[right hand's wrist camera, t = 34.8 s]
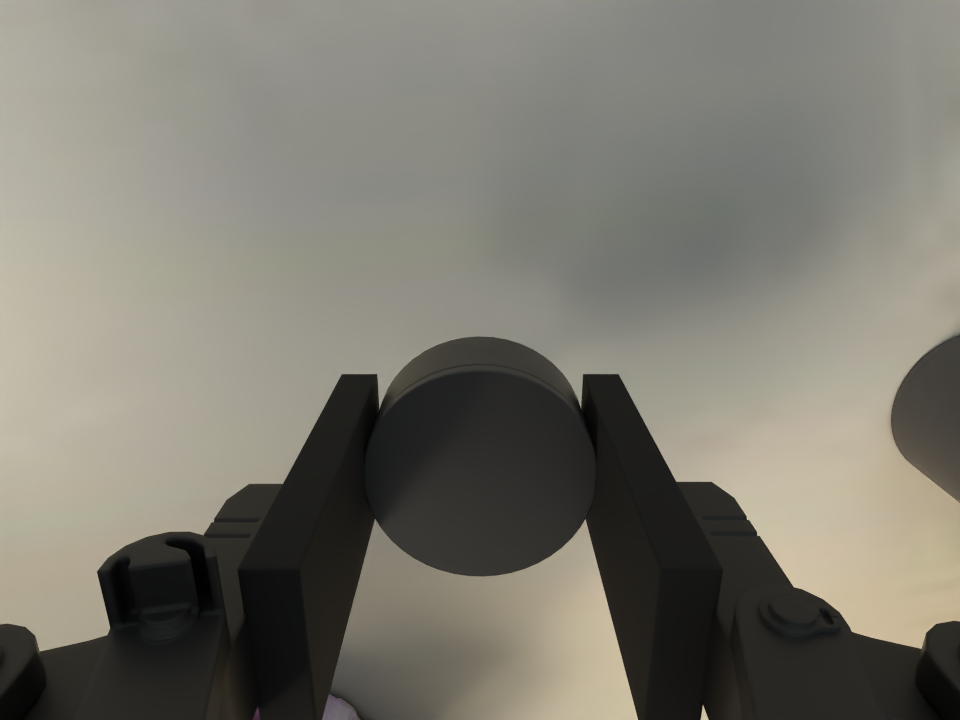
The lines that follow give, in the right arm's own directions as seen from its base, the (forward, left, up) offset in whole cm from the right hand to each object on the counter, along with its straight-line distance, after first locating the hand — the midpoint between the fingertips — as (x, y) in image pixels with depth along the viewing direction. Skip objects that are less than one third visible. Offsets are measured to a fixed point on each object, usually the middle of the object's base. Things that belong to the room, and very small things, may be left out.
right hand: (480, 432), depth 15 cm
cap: (0, 0, +2) cm, 2 cm away
